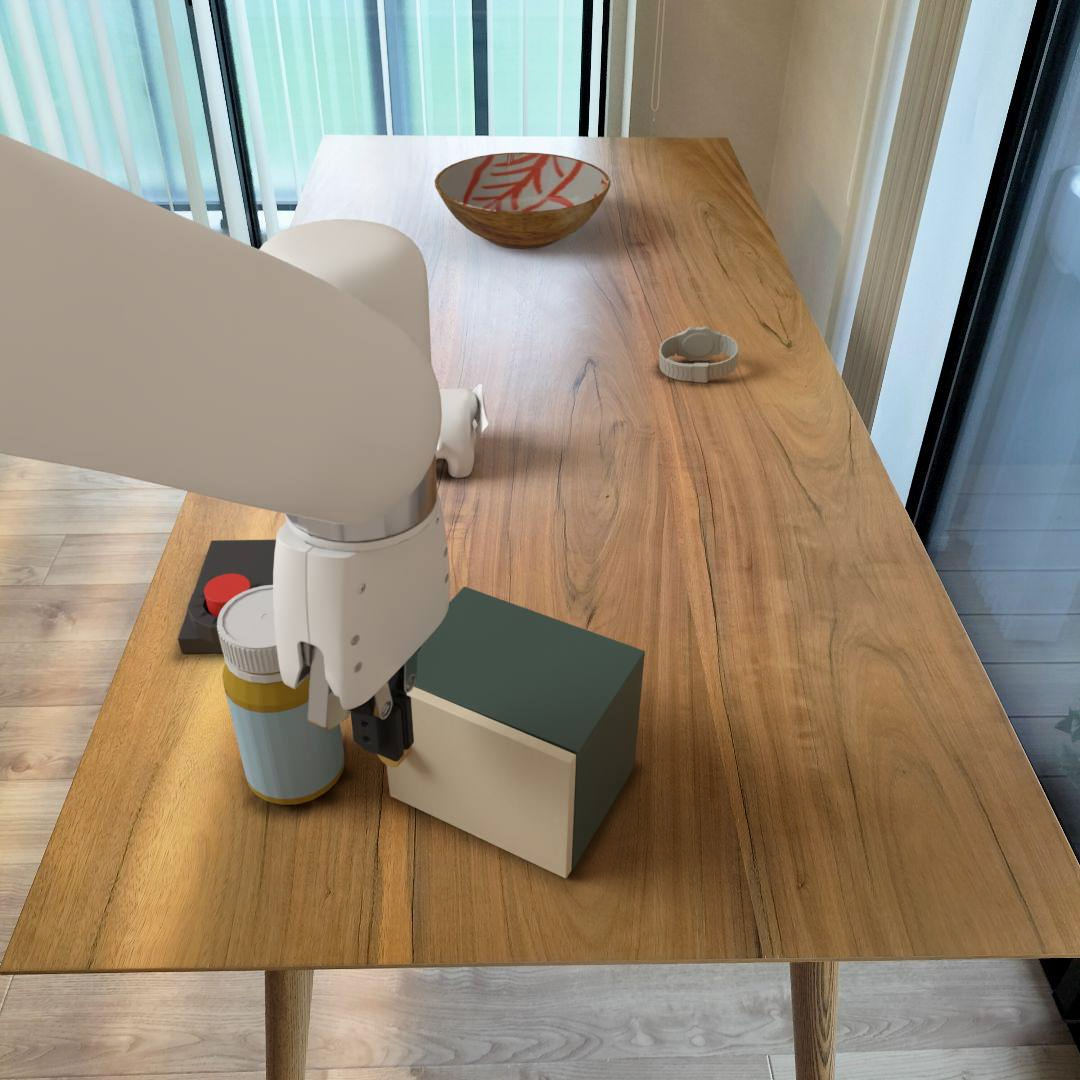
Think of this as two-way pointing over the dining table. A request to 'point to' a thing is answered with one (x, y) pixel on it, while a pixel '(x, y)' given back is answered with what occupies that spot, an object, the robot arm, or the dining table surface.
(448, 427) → the elephant figurine
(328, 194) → the dining table surface
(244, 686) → the bottle
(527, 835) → the door
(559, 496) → the dining table surface
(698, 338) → the wristwatch
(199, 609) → the switch
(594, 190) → the bowl
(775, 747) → the dining table surface
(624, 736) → the cupboard
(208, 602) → the button
